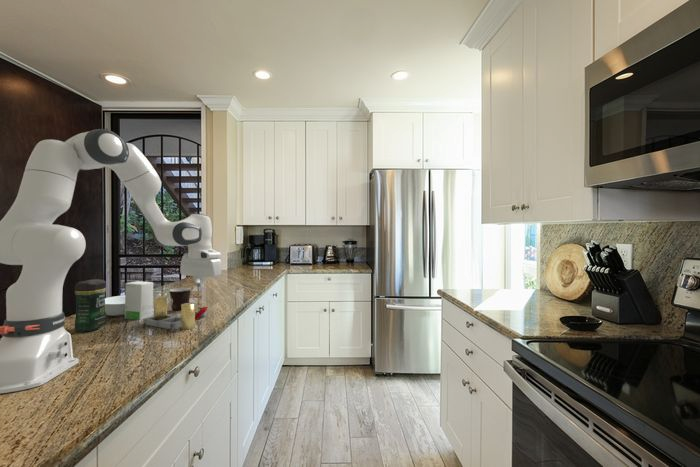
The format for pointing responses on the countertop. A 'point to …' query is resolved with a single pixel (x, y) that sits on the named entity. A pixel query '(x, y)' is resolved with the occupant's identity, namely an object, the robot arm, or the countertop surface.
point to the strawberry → (200, 312)
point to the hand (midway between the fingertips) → (200, 287)
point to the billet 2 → (187, 316)
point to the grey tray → (165, 322)
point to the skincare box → (138, 300)
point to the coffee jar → (90, 305)
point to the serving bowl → (115, 305)
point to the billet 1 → (160, 307)
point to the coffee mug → (179, 297)
